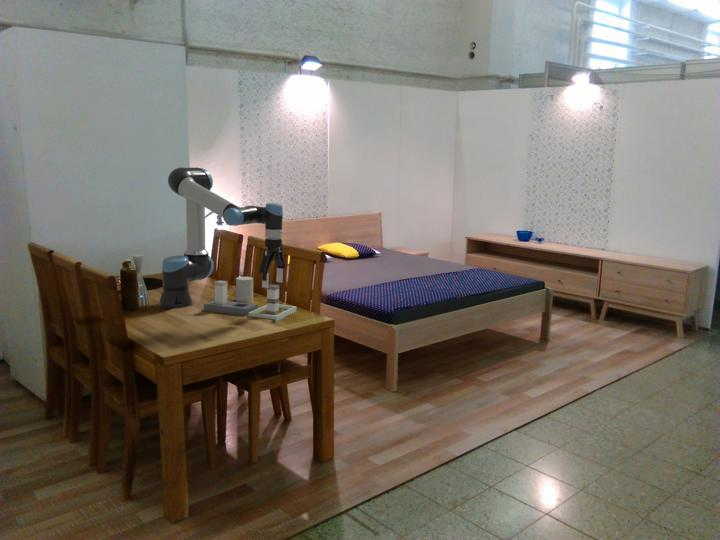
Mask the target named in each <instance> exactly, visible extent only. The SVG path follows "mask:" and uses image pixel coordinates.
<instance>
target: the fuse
mask: <svg viewBox="0 0 720 540" xmlns="http://www.w3.org/2000/svg"><path fill="white" fill-rule="evenodd" d="M228 282H229V281H228V280H217V281H214V297H215V298H214V300H215V304H220V305H224V304H227V301H228V284H229V283H228Z"/></svg>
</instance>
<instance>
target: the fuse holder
mask: <svg viewBox="0 0 720 540" xmlns="http://www.w3.org/2000/svg"><path fill="white" fill-rule="evenodd" d="M256 309H258V304H256V303H250V302H238V301H233V300H232V301H231V300H227V304H224V305H220V304H215V299H214V300H212V301H207V302H206V303H203V311H208V312H215V313H221V314H229V315H239V316H245V317H247V316H248V313H249V312H251V311H253V310H256Z"/></svg>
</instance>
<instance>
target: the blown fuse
mask: <svg viewBox="0 0 720 540" xmlns="http://www.w3.org/2000/svg"><path fill="white" fill-rule="evenodd" d="M280 287H281V286H280V284H268V288H266V305H267V309H266V314H268V315H278V314H280V308H279V305H280Z"/></svg>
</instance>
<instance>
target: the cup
mask: <svg viewBox="0 0 720 540" xmlns="http://www.w3.org/2000/svg"><path fill="white" fill-rule="evenodd" d="M235 281H236V284H235V285H236V286H235V290H236V292H235V294H236V295H235V297H236V299H235V300H236V301H235V302H241V303H250V302H252V303H253V302H254V278H253V277H251V276H239V277H236V278H235Z"/></svg>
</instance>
